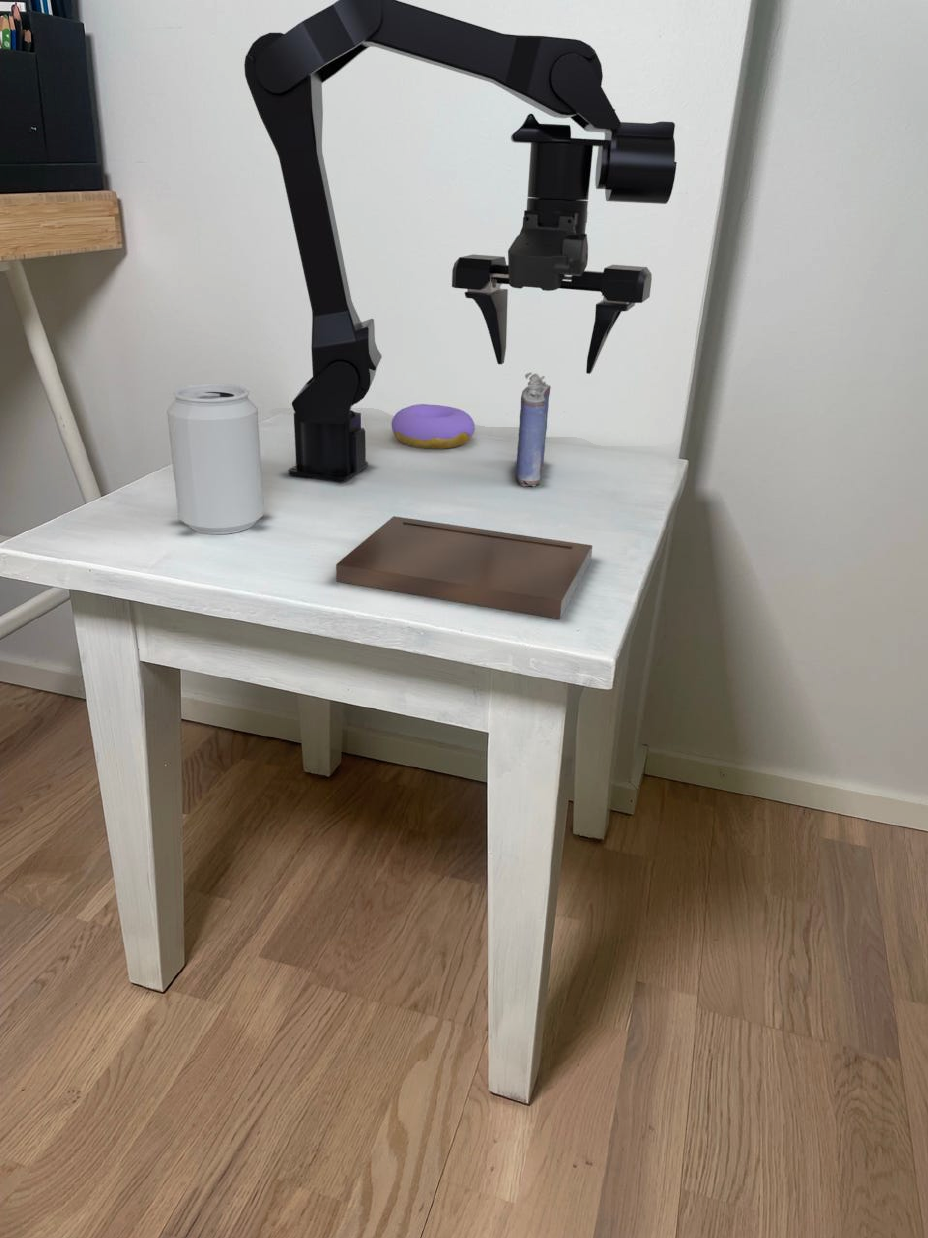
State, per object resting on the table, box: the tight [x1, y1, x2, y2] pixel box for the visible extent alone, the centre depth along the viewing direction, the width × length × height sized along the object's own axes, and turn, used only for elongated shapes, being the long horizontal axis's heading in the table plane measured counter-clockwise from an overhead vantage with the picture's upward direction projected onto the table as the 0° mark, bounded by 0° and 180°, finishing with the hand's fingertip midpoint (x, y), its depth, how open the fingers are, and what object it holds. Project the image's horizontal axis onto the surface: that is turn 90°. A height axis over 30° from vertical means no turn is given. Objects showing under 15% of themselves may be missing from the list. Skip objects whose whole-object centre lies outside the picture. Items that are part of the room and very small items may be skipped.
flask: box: [515, 372, 552, 488], centre depth 97 cm, size 9×3×11 cm, turn 172°
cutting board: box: [335, 515, 593, 620], centre depth 75 cm, size 18×12×2 cm, turn 72°
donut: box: [391, 403, 476, 450], centre depth 109 cm, size 10×9×5 cm
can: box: [166, 383, 265, 535], centre depth 81 cm, size 8×8×12 cm
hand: (544, 368), depth 93 cm, fingers open, 9 cm apart
